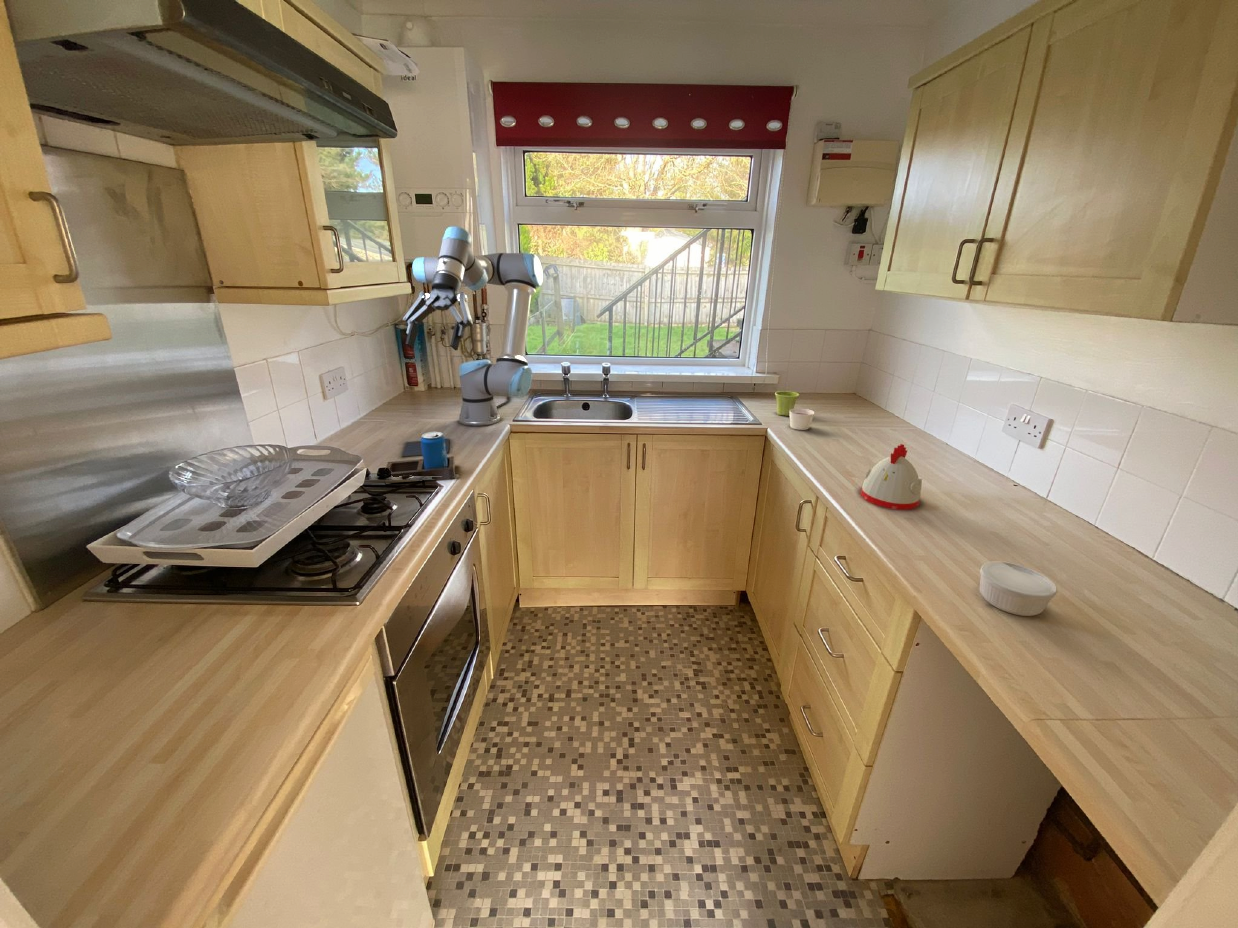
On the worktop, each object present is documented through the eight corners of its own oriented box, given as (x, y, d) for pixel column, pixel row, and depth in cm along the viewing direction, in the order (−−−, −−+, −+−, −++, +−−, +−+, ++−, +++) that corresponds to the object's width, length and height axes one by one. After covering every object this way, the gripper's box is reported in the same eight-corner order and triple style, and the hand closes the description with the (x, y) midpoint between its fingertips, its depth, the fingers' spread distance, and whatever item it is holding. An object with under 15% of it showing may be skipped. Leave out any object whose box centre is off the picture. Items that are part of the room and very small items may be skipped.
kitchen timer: (851, 496, 137) (861, 443, 131) (875, 483, 145) (885, 433, 139) (905, 514, 127) (918, 458, 121) (927, 499, 135) (941, 446, 129)
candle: (810, 425, 197) (813, 409, 195) (813, 432, 189) (815, 415, 186) (786, 423, 199) (788, 407, 197) (787, 430, 191) (790, 413, 188)
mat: (406, 443, 173) (406, 442, 173) (449, 439, 177) (449, 438, 177) (402, 457, 161) (401, 456, 160) (448, 453, 164) (448, 452, 164)
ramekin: (1050, 600, 95) (1059, 576, 93) (1045, 629, 87) (1055, 604, 85) (979, 576, 102) (986, 554, 100) (968, 602, 94) (976, 578, 92)
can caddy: (389, 472, 149) (387, 461, 148) (455, 466, 154) (453, 456, 153) (385, 485, 140) (383, 474, 139) (454, 478, 145) (453, 468, 144)
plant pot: (767, 412, 213) (770, 392, 210) (785, 410, 217) (787, 390, 214) (783, 418, 205) (786, 397, 202) (801, 415, 209) (804, 395, 206)
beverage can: (441, 479, 145) (436, 439, 140) (421, 477, 146) (415, 437, 142) (452, 470, 151) (448, 432, 146) (433, 468, 152) (427, 430, 147)
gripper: (401, 270, 143) (383, 339, 138) (482, 271, 138) (466, 342, 133) (416, 286, 150) (399, 351, 145) (493, 287, 145) (479, 355, 140)
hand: (431, 347), depth 139 cm, fingers open, 13 cm apart
